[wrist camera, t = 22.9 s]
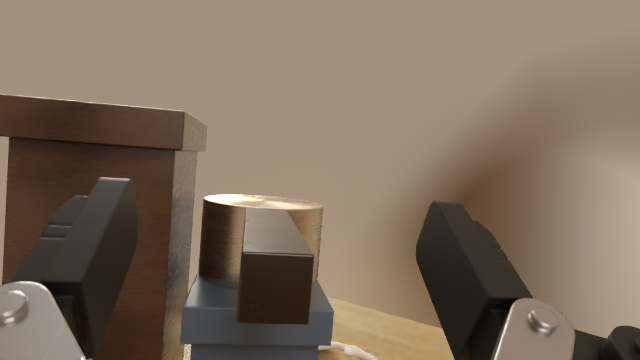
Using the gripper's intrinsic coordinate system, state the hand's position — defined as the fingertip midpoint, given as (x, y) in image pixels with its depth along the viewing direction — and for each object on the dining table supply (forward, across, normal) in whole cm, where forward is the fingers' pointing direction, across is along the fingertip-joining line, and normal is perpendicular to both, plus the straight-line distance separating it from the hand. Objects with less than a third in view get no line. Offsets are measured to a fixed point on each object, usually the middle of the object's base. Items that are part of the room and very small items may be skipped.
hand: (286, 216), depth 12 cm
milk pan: (+7, 0, +12) cm, 14 cm away
